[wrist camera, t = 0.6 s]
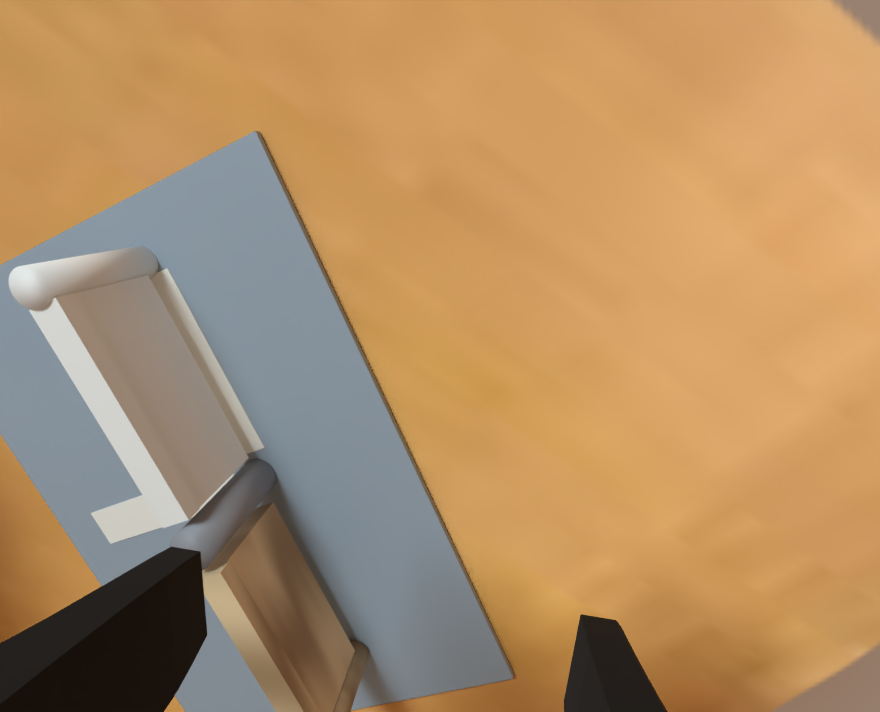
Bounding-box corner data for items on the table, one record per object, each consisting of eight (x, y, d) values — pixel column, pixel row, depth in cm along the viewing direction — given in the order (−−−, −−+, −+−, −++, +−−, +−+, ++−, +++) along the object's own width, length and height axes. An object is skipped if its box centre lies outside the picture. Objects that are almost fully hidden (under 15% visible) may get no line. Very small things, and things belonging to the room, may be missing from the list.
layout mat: (207, 733, 27) (203, 740, 26) (-76, 307, 21) (-85, 309, 21) (513, 672, 23) (513, 679, 22) (259, 131, 17) (254, 130, 17)
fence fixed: (256, 490, 22) (183, 575, 17) (124, 254, 19) (-3, 276, 15) (285, 481, 21) (219, 565, 17) (155, 238, 19) (34, 257, 14)
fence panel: (257, 501, 21) (190, 583, 17) (283, 493, 21) (221, 574, 17) (348, 665, 23) (309, 775, 19) (373, 659, 23) (338, 770, 19)
